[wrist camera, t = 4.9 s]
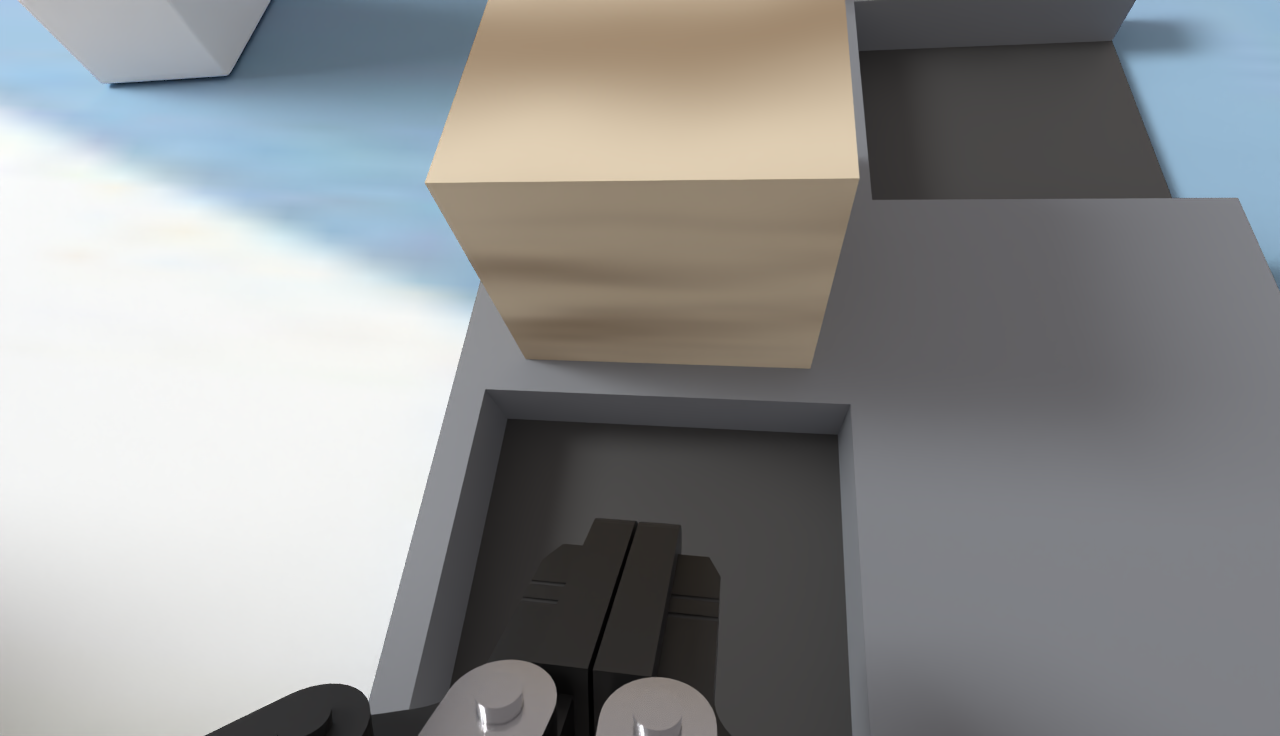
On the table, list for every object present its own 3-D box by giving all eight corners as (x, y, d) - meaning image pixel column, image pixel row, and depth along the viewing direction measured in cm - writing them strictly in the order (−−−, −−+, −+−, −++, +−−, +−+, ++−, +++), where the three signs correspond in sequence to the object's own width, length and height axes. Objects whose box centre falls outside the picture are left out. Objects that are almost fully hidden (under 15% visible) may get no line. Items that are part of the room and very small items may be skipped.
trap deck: (1416, 882, 13) (1974, 1026, 7) (405, 747, 16) (230, 770, 10) (1094, 18, 26) (1200, -178, 20) (570, 42, 29) (533, -121, 23)
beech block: (810, 368, 17) (859, 178, 11) (525, 359, 18) (424, 183, 12) (804, 153, 21) (838, -79, 14) (568, 157, 22) (507, -56, 16)
